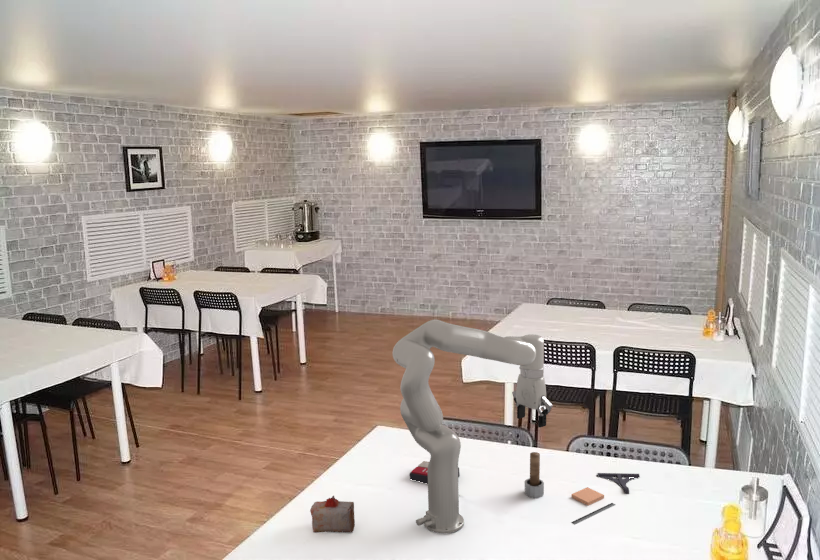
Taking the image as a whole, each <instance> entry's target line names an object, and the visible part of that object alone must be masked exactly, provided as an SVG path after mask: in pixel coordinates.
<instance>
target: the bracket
mask: <svg viewBox="0 0 820 560" xmlns="http://www.w3.org/2000/svg"><path fill="white" fill-rule="evenodd" d="M597 477H598V478H601V479H606V480H608V479H609V480H608V481H612V482H614V483H615V484H617V485H618V486H620V487H621V489H622V490H623V492H624V494H626V495H629V494H630V490H629V486H627V484H628V483H629V482H630V481H632V480H631V479H633V480H635V479H634V478H637V479H639V478H638V477H640V473H623V472H622V473H616V472H615V473H613V472H597ZM629 477H634V478H630V479H629ZM617 478H618V479H617ZM629 480H630V481H629ZM626 483H627V484H626Z"/></svg>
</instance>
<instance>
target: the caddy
mask: <svg viewBox="0 0 820 560" xmlns="http://www.w3.org/2000/svg"><path fill="white" fill-rule="evenodd" d="M544 489H545V482H544V480H542V479H540V478H539V486H532V485H530V477H529V478H527V479H525V480H524V494H525V496H527V498H528V497H529V498H532V499H539V498H542V497H544V493H545V490H544Z"/></svg>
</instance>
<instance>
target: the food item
mask: <svg viewBox="0 0 820 560" xmlns="http://www.w3.org/2000/svg"><path fill="white" fill-rule="evenodd" d="M309 512H310V515H311V526H312V532H313V533H346V534H347V533H348V534H349V533H354V531H355V525H356V523H355V522H356V520H355V502H354V501H341V500H340V501H339V499H337V498H336V497H335V495H332V497H328V498H327V499H326V500H323V501H315V502H314V503H313V504H312V505H311V508H310V511H309Z"/></svg>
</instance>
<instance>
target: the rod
mask: <svg viewBox="0 0 820 560" xmlns="http://www.w3.org/2000/svg"><path fill="white" fill-rule="evenodd" d="M529 458H530V459H529V478H530V485H532V486H539V479H540V474H541V473H540V470H541V468H540V466H541V461H540V460H541V459H540V458H541V454H540V453H539V452H537V451H535V452H534V451H532V452H530V453H529Z"/></svg>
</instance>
